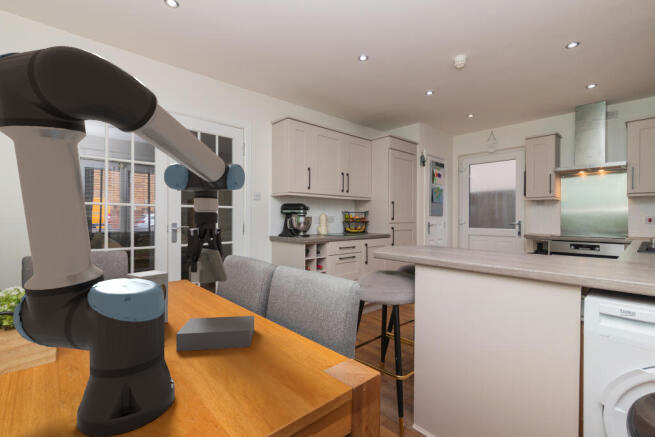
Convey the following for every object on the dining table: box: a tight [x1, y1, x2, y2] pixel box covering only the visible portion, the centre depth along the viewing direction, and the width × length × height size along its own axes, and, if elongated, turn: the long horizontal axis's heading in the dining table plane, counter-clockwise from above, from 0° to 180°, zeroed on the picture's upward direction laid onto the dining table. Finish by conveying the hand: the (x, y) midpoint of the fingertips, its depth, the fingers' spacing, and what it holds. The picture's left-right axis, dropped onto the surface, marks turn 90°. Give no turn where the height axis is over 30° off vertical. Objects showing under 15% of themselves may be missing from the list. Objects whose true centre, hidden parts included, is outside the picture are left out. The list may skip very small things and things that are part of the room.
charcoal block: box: [175, 315, 255, 352], centre depth 87 cm, size 12×19×5 cm, turn 98°
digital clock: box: [188, 248, 228, 285], centre depth 100 cm, size 16×9×11 cm, turn 41°
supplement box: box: [126, 269, 169, 324], centre depth 100 cm, size 10×9×17 cm
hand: (205, 279), depth 100 cm, fingers closed on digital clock, 9 cm apart
